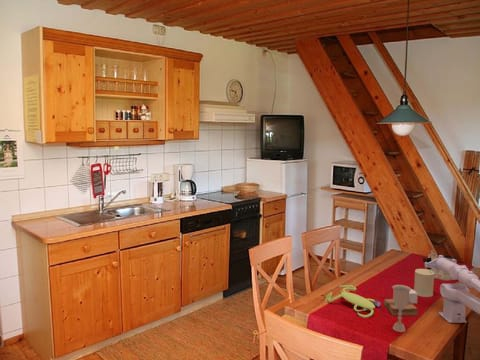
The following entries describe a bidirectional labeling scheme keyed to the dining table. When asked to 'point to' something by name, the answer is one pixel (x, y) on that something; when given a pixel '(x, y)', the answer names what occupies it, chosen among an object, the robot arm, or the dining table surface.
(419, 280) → the can
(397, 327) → the chalice
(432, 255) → the ceramic cottage
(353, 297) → the figurine
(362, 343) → the dining table surface
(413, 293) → the cube
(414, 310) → the plinth
